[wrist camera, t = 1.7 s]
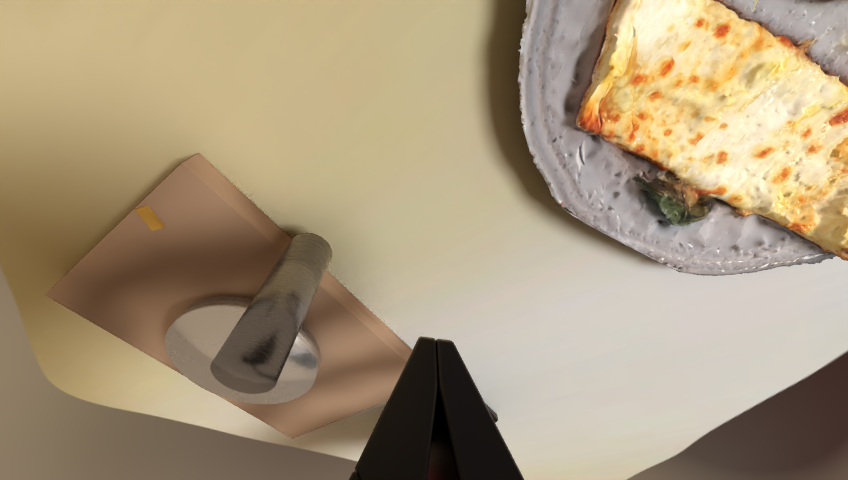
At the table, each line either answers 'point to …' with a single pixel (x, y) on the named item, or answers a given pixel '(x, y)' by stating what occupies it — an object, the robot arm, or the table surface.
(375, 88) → the table surface
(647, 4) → the food plate
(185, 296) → the stand base
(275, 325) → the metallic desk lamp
